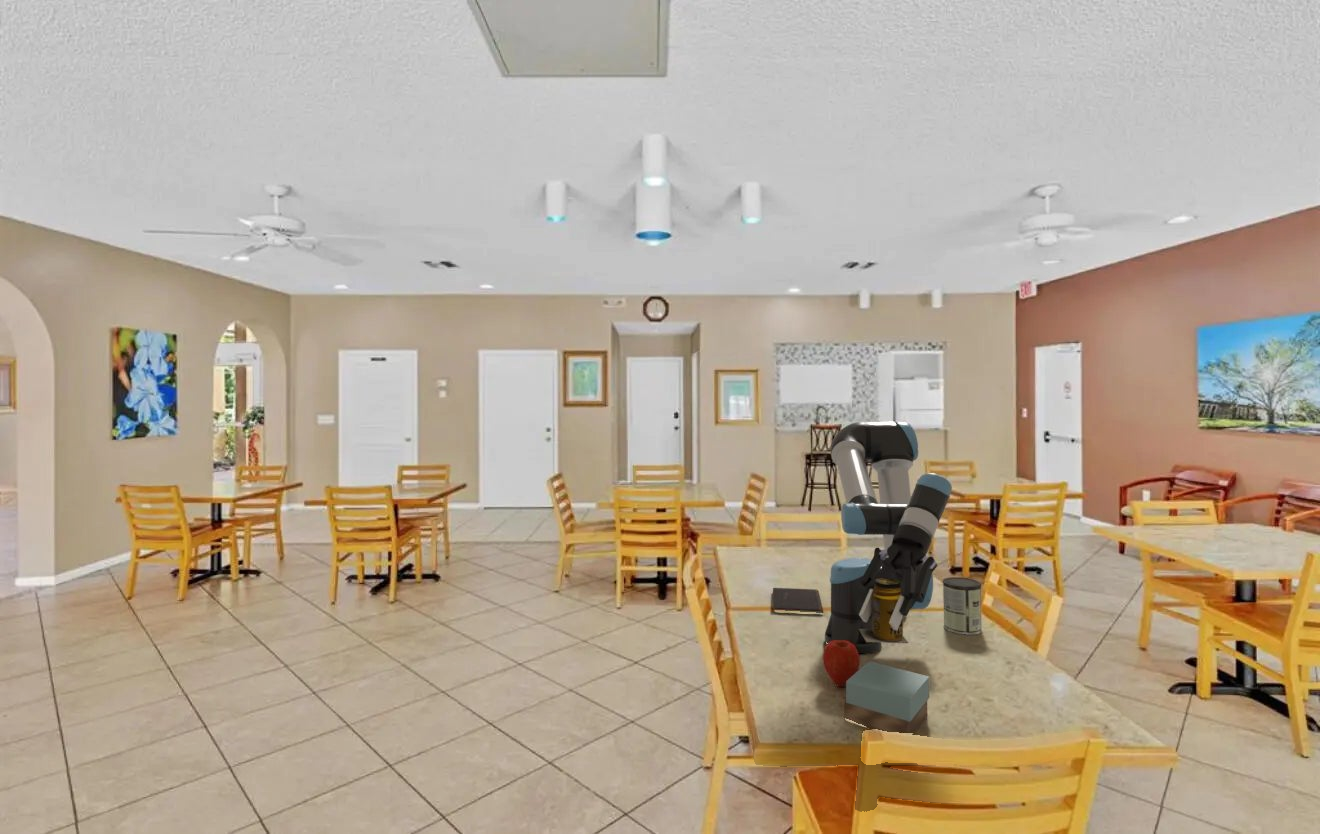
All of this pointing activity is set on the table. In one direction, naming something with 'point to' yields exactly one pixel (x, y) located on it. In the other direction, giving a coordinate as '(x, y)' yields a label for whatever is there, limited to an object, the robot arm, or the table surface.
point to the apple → (841, 661)
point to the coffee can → (962, 605)
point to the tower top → (888, 690)
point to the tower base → (883, 719)
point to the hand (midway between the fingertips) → (877, 622)
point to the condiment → (884, 613)
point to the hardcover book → (797, 600)
